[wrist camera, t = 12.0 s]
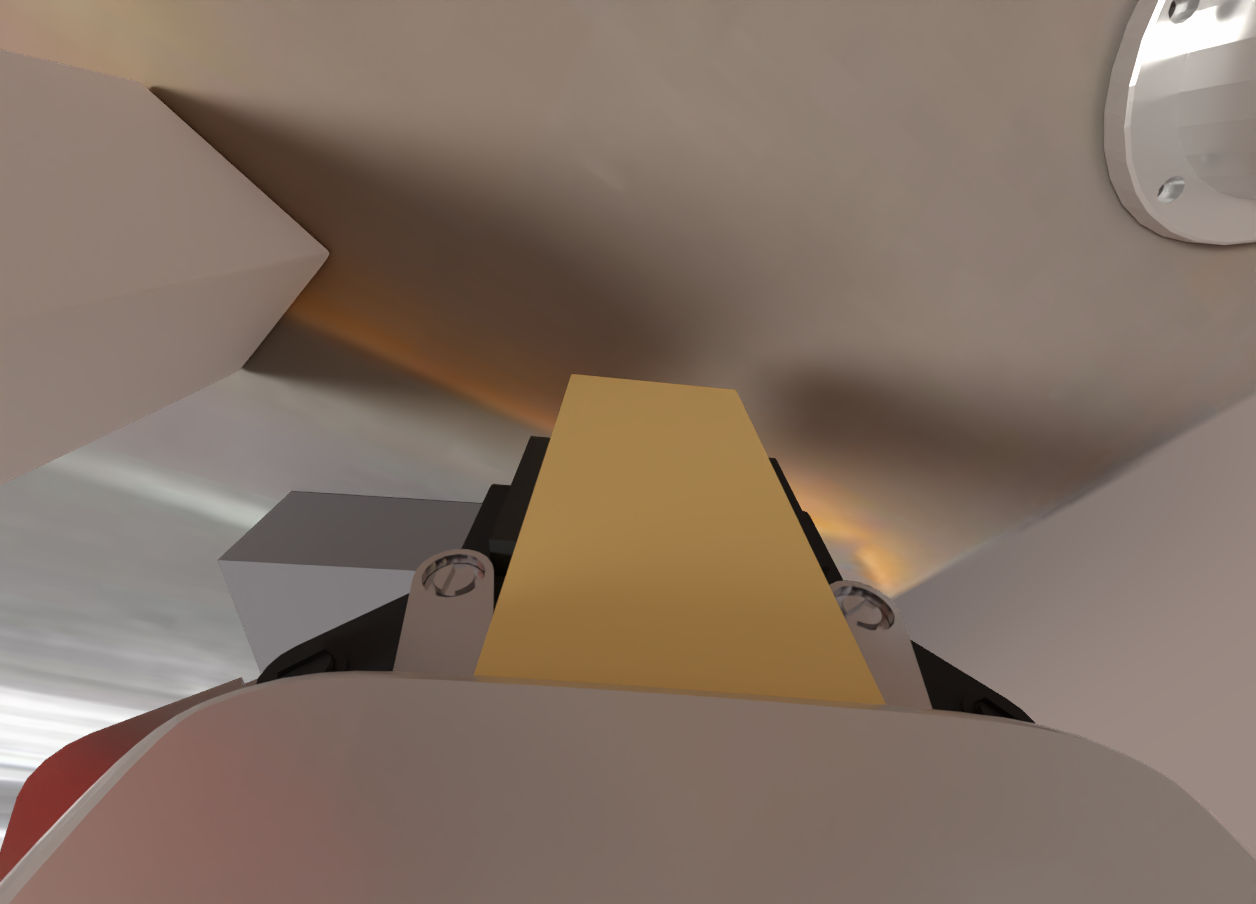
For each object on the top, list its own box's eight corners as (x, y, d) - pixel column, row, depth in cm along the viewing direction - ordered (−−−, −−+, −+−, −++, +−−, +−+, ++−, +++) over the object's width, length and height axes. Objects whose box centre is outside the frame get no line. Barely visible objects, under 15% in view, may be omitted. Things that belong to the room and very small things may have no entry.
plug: (735, 389, 13) (1100, 1154, 3) (707, 521, 16) (855, 1227, 5) (571, 373, 13) (328, 1124, 3) (565, 508, 15) (418, 1211, 5)
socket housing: (580, 509, 25) (573, 579, 20) (569, 690, 31) (562, 772, 27) (291, 491, 24) (217, 560, 19) (342, 681, 30) (296, 765, 26)
